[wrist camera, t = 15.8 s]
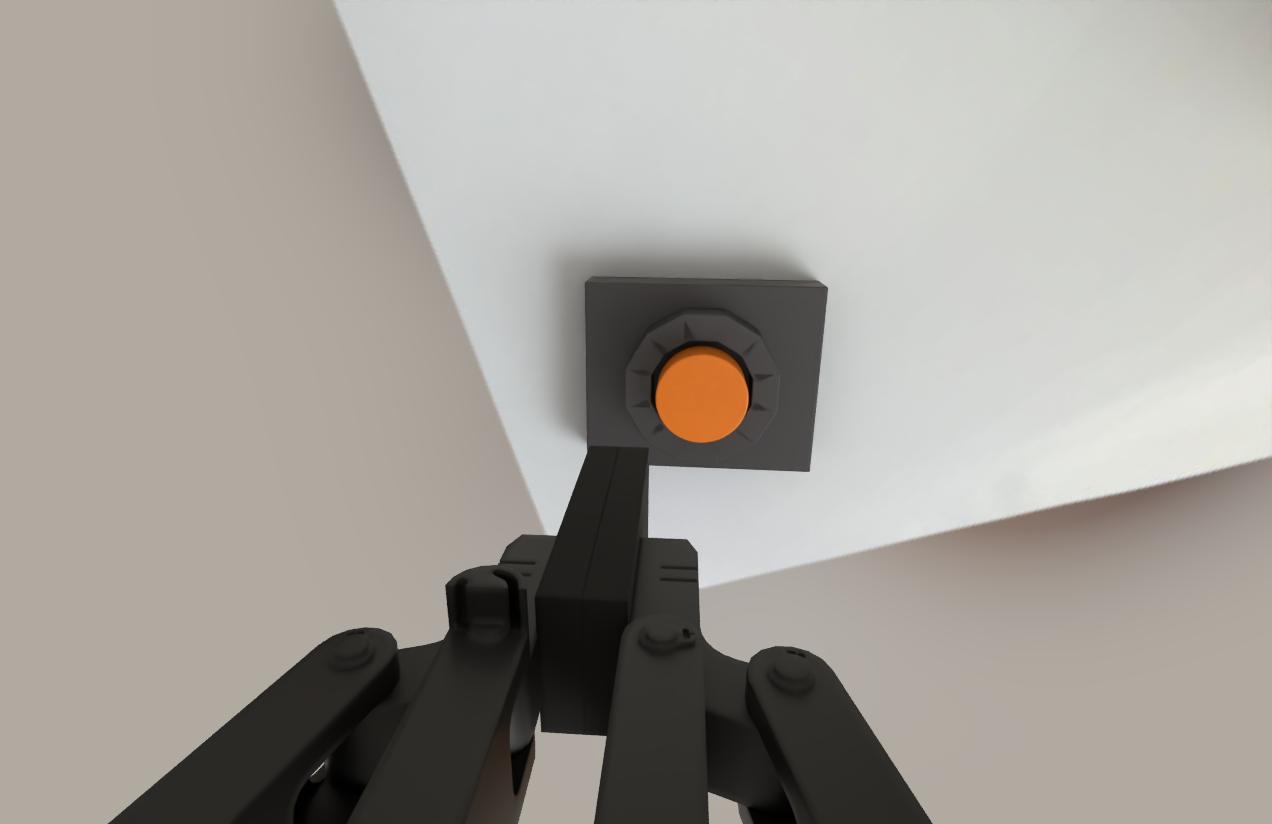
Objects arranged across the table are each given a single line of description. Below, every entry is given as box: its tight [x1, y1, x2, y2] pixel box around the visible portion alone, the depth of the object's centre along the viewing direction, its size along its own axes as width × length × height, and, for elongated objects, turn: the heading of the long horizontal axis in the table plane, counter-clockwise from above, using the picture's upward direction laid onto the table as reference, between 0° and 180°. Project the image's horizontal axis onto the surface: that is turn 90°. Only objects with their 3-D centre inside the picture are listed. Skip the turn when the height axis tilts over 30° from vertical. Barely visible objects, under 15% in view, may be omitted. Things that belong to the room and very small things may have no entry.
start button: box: [655, 346, 749, 443], centre depth 30 cm, size 4×4×2 cm
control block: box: [585, 276, 828, 472], centre depth 32 cm, size 11×9×4 cm
